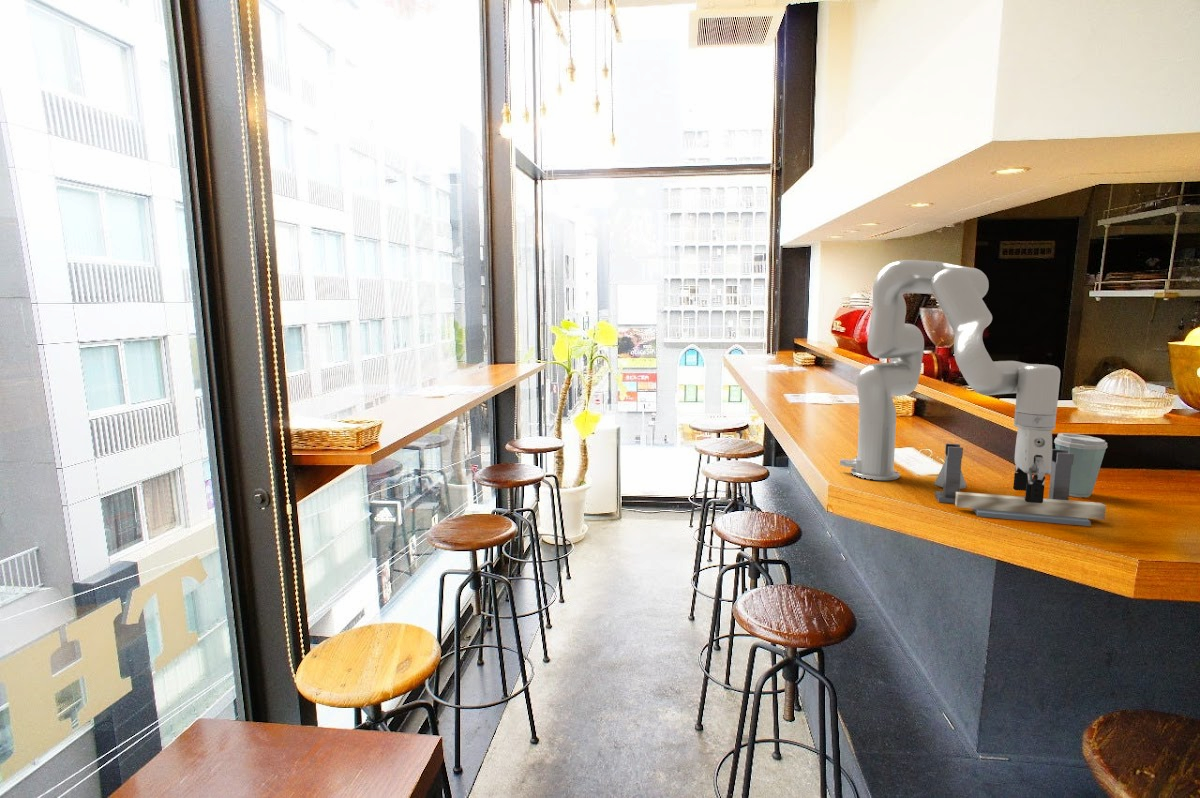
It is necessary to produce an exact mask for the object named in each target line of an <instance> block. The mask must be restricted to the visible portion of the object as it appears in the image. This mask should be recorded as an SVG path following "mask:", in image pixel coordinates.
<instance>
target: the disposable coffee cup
mask: <svg viewBox="0 0 1200 798" xmlns="http://www.w3.org/2000/svg"><path fill="white" fill-rule="evenodd" d="M1053 443H1054V445H1055V449H1059V450H1068V453H1073V454H1074V459H1073V465H1072V466H1071V477H1070V488H1069V497H1074V498H1082V497H1085V498H1090V497H1089V496H1091V495H1092V494H1093V493H1094V488H1095V485H1096V482H1097V479H1098V475H1099V472H1100V469H1101V466H1102V462H1103V460H1104V456H1105V453H1106V449H1108V442H1106V440H1105V439H1102V438H1100V437H1094V436H1091V435H1084V434H1076V433H1067V432H1066V433H1064V432H1059V433H1057V436H1056V437H1055V439H1054V441H1053Z"/></svg>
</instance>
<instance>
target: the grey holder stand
mask: <svg viewBox="0 0 1200 798" xmlns="http://www.w3.org/2000/svg"><path fill="white" fill-rule="evenodd" d="M944 454H945V457H944V458H945V459H944V462H945V471H944V487H942V488H943V491H939V490H935V491H934V496H935V498H936V500H937V502H938V503H943V504H955V497H956V492H961V491H960V490H961V489H960V476H961V471H962V459H963V456H964V455H963V454H964V447H961V444H959V443H945V447H944ZM1073 459H1074V454H1073V453H1068V450H1059V449H1056V448H1052V463H1051V473H1050V479H1049V489H1048V499H1057V500H1070V496H1069V488H1070V477H1071V466H1072V465H1073Z"/></svg>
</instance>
